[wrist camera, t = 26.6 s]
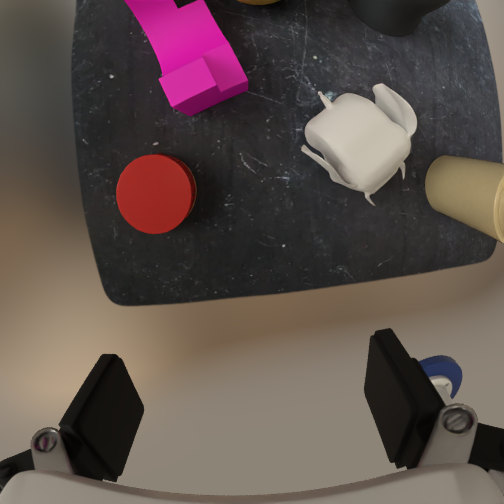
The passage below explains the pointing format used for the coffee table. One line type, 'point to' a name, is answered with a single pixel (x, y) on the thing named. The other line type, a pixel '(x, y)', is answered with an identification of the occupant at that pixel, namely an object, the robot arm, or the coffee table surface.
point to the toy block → (190, 54)
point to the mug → (394, 14)
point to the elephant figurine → (362, 138)
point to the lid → (156, 193)
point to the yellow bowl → (258, 2)
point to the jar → (468, 192)
